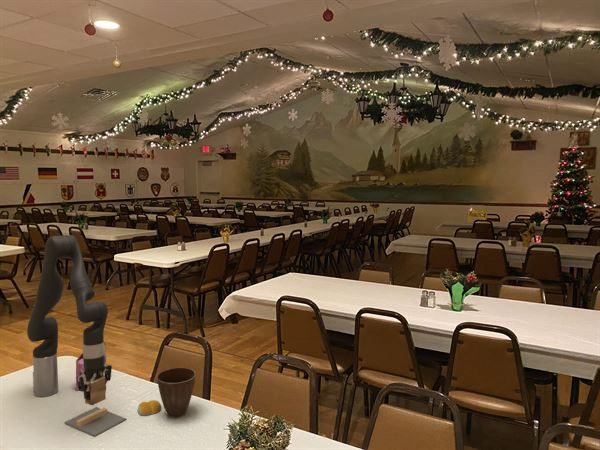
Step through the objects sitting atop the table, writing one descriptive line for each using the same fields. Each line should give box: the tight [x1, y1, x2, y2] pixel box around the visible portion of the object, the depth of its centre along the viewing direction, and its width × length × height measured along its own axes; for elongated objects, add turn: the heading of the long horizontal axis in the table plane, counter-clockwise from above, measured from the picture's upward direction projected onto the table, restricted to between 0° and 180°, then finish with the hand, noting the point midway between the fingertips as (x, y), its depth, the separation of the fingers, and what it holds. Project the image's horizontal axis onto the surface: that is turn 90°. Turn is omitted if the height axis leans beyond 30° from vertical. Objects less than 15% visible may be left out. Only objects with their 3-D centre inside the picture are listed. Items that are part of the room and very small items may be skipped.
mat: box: [63, 406, 127, 438], centre depth 176 cm, size 18×14×2 cm
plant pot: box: [156, 367, 196, 418], centre depth 183 cm, size 15×15×16 cm
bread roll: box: [136, 399, 162, 416], centre depth 185 cm, size 8×9×4 cm
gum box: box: [75, 342, 107, 391], centre depth 213 cm, size 24×8×14 cm, turn 10°
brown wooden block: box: [84, 377, 107, 406], centre depth 175 cm, size 4×6×9 cm, turn 151°
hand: (95, 396), depth 175 cm, fingers closed on brown wooden block, 6 cm apart
